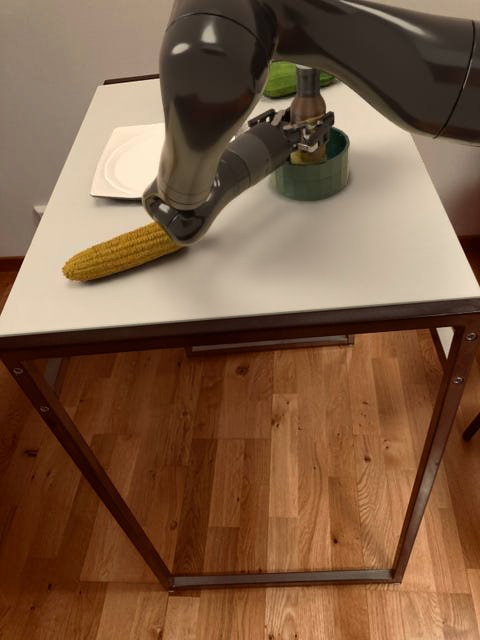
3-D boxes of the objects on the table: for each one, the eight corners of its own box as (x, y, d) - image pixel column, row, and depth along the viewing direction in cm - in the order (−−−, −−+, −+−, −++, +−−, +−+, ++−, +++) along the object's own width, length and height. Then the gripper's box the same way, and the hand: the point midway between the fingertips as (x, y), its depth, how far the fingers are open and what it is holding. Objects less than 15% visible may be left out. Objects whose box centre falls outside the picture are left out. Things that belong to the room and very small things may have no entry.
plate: (238, 122, 113) (236, 111, 111) (234, 198, 94) (232, 185, 92) (114, 136, 116) (110, 125, 114) (86, 211, 97) (81, 200, 95)
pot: (353, 159, 97) (355, 125, 92) (341, 203, 89) (342, 168, 84) (281, 156, 101) (279, 122, 96) (263, 197, 93) (259, 163, 88)
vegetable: (253, 59, 114) (338, 41, 116) (252, 82, 121) (332, 65, 122) (262, 85, 112) (348, 67, 114) (260, 107, 119) (341, 90, 121)
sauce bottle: (301, 188, 92) (297, 75, 77) (285, 172, 96) (278, 63, 81) (332, 176, 93) (334, 64, 78) (315, 162, 97) (313, 52, 82)
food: (184, 234, 88) (176, 205, 84) (194, 252, 85) (187, 223, 80) (66, 276, 85) (52, 249, 80) (72, 297, 81) (57, 270, 77)
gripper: (287, 147, 74) (352, 99, 81) (216, 123, 81) (282, 81, 88) (289, 191, 79) (350, 142, 86) (223, 165, 86) (284, 123, 94)
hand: (315, 112), depth 87 cm, fingers closed on sauce bottle, 6 cm apart
